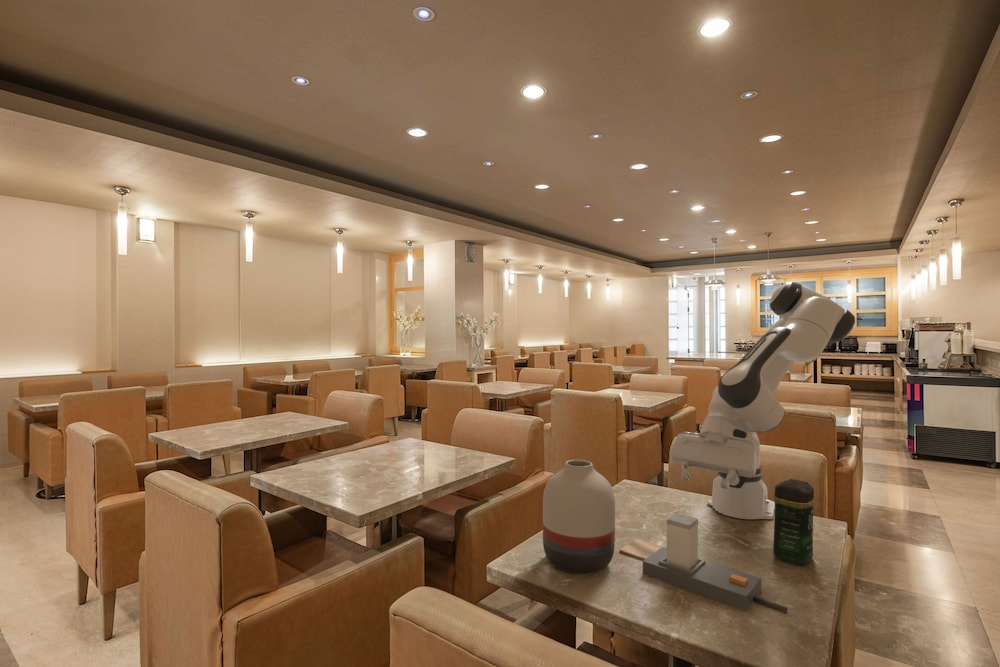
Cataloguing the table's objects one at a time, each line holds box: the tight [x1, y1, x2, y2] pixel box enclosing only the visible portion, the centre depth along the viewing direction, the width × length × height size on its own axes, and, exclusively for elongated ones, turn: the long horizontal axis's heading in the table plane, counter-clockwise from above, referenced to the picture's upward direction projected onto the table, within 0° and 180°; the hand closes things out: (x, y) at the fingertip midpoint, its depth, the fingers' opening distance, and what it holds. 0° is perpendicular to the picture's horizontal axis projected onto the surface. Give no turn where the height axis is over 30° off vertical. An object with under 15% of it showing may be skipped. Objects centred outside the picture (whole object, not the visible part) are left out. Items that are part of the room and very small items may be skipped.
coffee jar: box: [772, 478, 815, 566], centre depth 123 cm, size 10×8×19 cm
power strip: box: [642, 546, 789, 613], centre depth 108 cm, size 10×28×4 cm, turn 47°
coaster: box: [619, 538, 665, 561], centre depth 126 cm, size 9×9×1 cm
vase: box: [542, 459, 616, 575], centre depth 120 cm, size 17×17×24 cm
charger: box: [666, 512, 699, 570], centre depth 113 cm, size 5×5×10 cm
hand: (703, 483), depth 122 cm, fingers open, 8 cm apart
